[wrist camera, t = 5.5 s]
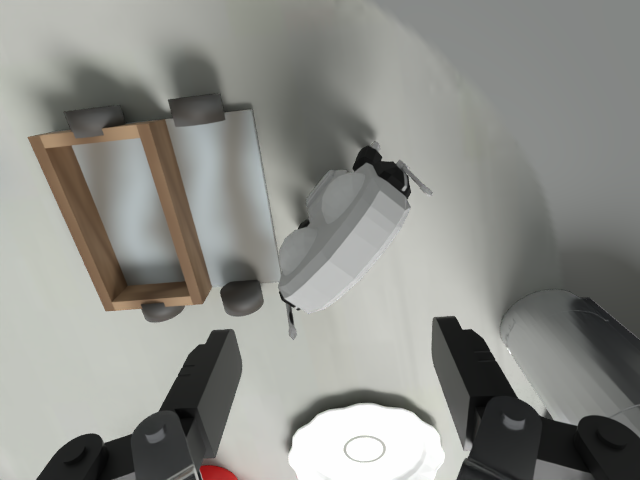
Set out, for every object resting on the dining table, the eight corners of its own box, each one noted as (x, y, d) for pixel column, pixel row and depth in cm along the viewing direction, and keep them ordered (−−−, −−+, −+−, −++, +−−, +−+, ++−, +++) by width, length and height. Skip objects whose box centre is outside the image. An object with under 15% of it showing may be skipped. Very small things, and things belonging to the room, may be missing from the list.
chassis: (249, 89, 29) (237, 91, 25) (284, 290, 37) (279, 313, 34) (46, 113, 30) (8, 118, 26) (125, 302, 38) (104, 326, 35)
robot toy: (356, 115, 30) (378, 147, 16) (395, 148, 31) (447, 204, 17) (275, 220, 34) (239, 315, 20) (312, 246, 35) (300, 352, 21)
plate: (471, 446, 48) (476, 458, 46) (364, 508, 55) (365, 520, 53) (364, 369, 42) (365, 379, 41) (260, 449, 49) (258, 460, 48)
